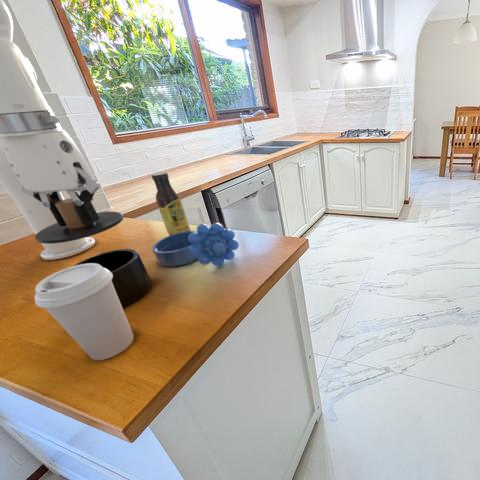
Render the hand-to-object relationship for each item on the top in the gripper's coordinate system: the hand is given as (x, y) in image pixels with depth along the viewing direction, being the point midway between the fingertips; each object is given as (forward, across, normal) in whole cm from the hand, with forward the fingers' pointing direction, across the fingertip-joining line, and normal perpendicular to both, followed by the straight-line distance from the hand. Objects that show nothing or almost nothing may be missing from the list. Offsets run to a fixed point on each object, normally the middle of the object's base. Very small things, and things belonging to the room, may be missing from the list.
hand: (80, 222), depth 57 cm
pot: (+18, 0, 0) cm, 18 cm away
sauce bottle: (+18, +1, -30) cm, 35 cm away
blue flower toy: (+18, -20, -10) cm, 29 cm away
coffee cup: (+18, -10, +15) cm, 26 cm away
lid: (+1, 0, 0) cm, 1 cm away
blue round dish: (+18, -6, -17) cm, 26 cm away
